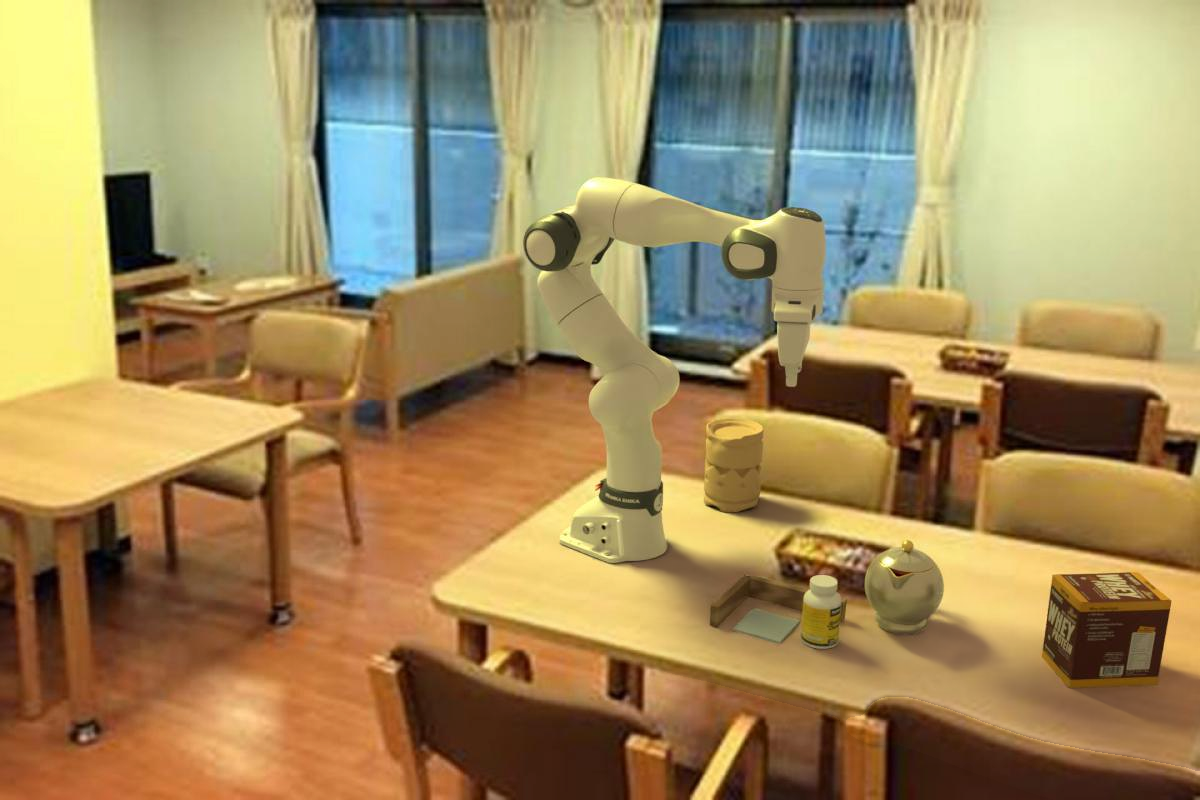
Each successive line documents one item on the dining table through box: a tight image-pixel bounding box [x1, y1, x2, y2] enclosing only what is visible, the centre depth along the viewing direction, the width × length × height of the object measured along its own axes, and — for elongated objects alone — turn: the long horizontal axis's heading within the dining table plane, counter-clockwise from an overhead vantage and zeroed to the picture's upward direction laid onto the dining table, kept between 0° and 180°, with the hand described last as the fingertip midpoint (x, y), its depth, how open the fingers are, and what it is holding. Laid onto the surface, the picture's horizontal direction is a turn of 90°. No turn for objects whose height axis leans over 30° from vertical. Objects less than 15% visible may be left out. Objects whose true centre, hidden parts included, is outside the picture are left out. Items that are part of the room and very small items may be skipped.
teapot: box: [864, 539, 945, 635], centre depth 211 cm, size 18×14×16 cm
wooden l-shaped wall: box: [709, 574, 848, 629], centre depth 212 cm, size 20×15×4 cm
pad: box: [732, 608, 800, 645], centre depth 210 cm, size 9×9×1 cm
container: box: [703, 417, 765, 514], centre depth 263 cm, size 13×13×18 cm
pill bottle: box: [800, 574, 842, 650], centre depth 204 cm, size 6×6×12 cm
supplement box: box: [1041, 571, 1172, 689], centre depth 195 cm, size 10×15×16 cm
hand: (793, 378), depth 210 cm, fingers open, 8 cm apart
